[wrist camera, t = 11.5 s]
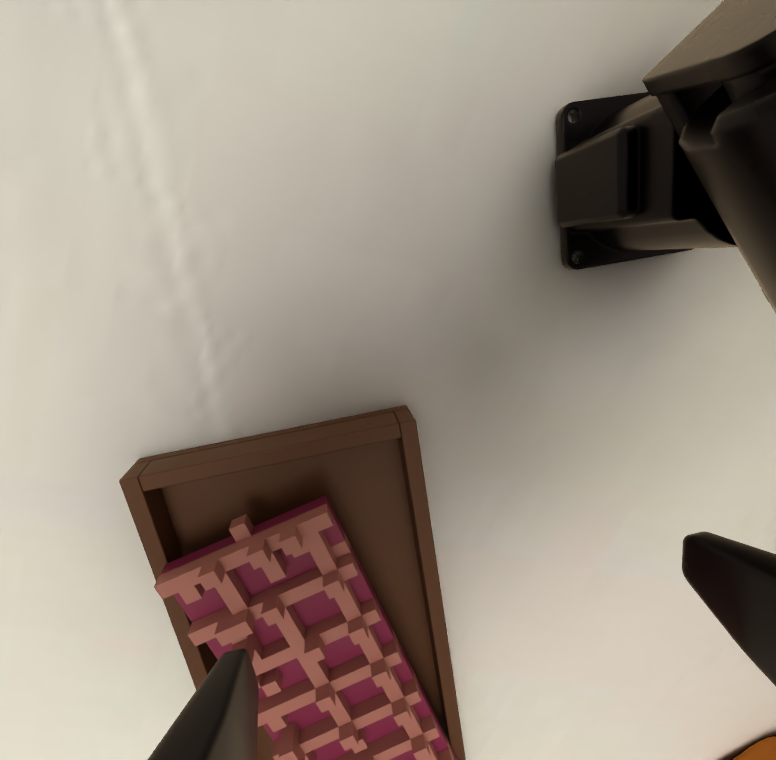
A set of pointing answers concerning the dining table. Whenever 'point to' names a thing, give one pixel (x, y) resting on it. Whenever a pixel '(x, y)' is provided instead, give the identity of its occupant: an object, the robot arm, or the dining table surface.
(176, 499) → the tray
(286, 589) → the pink flat grid slab
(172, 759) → the robot arm
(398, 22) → the dining table surface
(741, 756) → the coffee package
